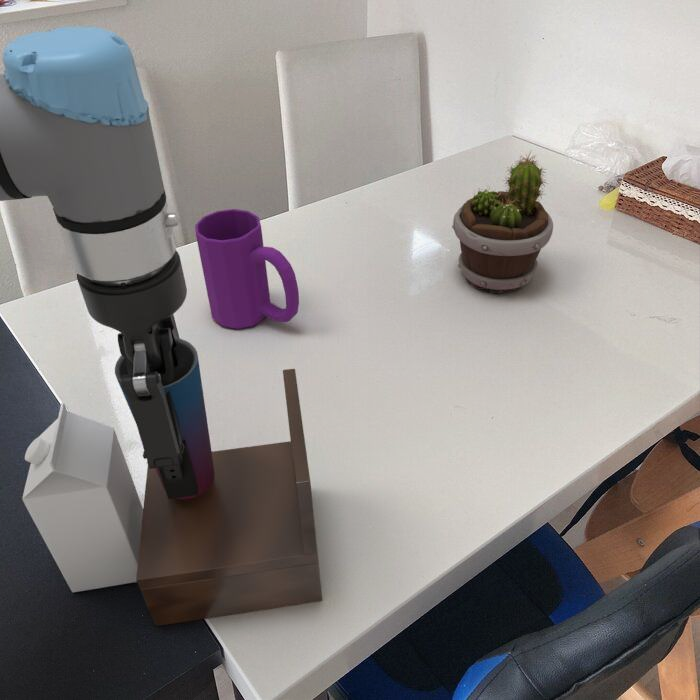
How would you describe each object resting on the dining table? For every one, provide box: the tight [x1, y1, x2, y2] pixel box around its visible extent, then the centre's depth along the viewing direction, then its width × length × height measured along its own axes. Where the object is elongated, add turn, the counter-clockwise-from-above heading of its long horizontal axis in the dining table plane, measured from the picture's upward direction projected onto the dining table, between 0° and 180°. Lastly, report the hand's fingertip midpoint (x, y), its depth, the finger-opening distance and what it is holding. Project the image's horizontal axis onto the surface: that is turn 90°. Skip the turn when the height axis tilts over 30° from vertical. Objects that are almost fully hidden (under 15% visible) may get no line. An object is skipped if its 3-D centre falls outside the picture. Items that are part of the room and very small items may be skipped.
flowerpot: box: [451, 150, 554, 294], centre depth 102 cm, size 14×15×20 cm
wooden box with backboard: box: [136, 368, 323, 627], centre depth 65 cm, size 16×14×18 cm
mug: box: [194, 208, 300, 330], centre depth 97 cm, size 9×16×15 cm, turn 58°
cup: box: [114, 337, 215, 499], centre depth 61 cm, size 7×7×15 cm
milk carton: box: [22, 402, 144, 593], centre depth 64 cm, size 7×7×19 cm
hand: (184, 465), depth 65 cm, fingers closed on cup, 6 cm apart
